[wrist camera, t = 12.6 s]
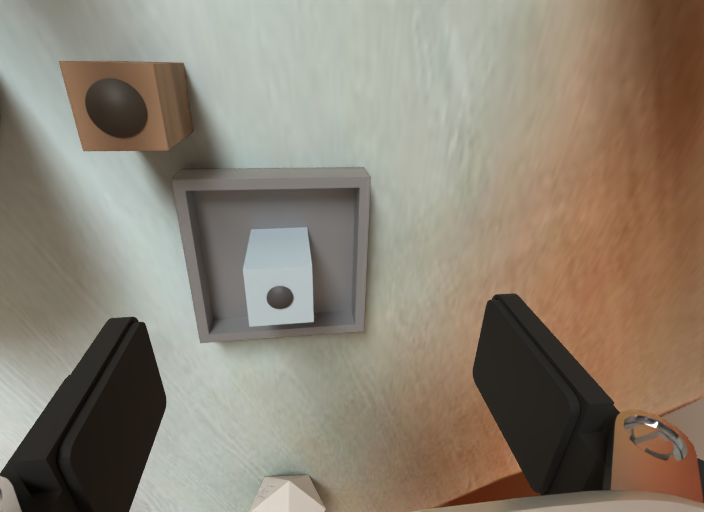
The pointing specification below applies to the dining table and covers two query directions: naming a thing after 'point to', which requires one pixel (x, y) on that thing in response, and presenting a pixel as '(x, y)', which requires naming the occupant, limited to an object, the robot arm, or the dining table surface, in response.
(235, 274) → the tray
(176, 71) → the walnut block
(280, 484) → the die
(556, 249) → the dining table surface
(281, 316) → the grey rectangular block
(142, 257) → the dining table surface
